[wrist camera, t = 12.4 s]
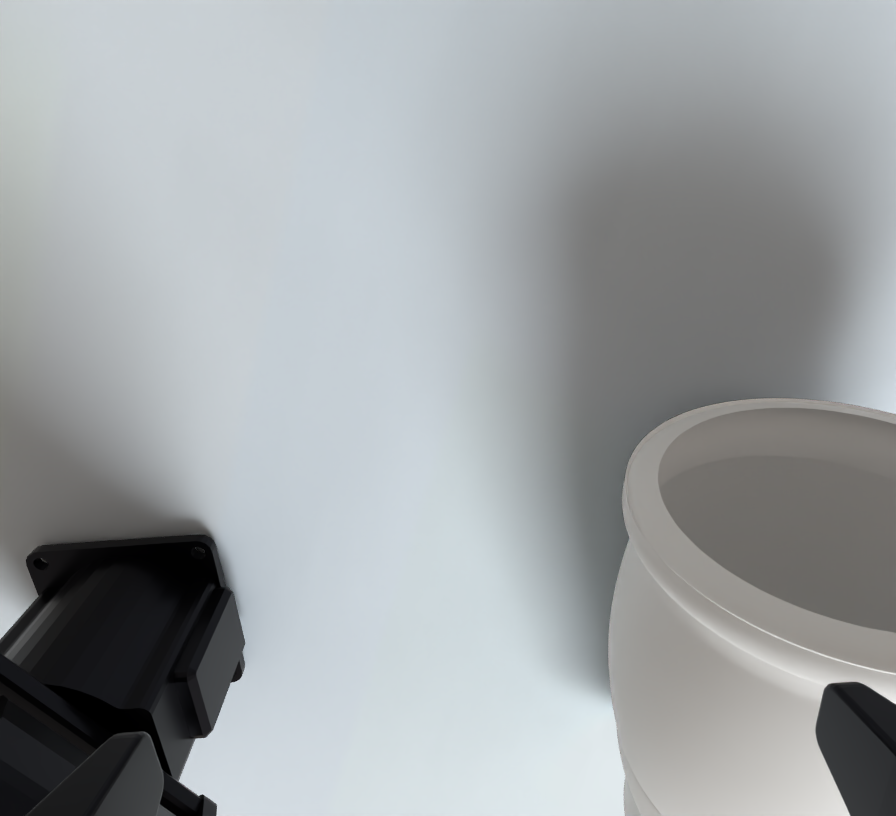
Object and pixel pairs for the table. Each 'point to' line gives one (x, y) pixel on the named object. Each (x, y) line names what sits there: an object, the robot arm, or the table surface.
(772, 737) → the jar
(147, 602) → the robot arm
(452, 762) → the table surface
